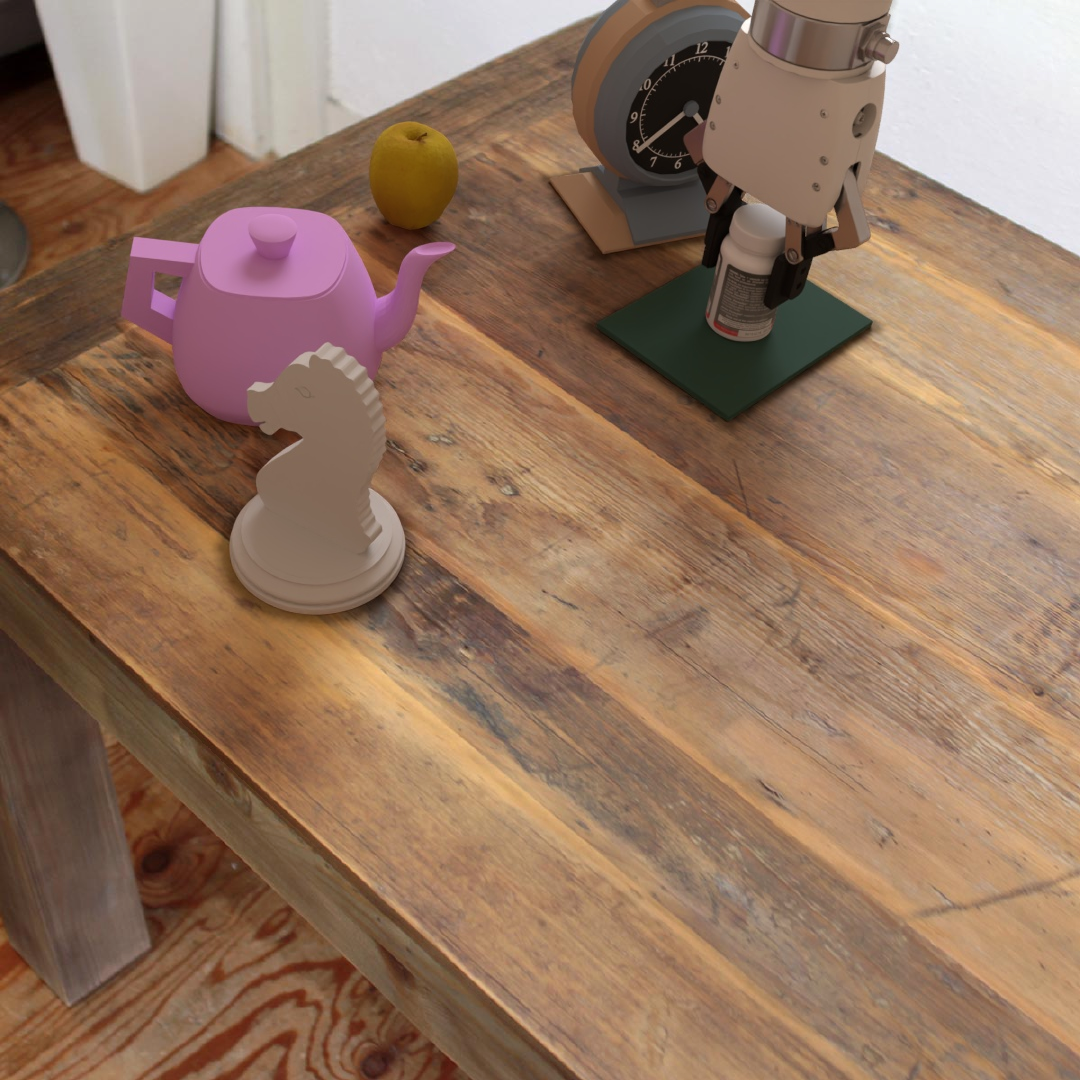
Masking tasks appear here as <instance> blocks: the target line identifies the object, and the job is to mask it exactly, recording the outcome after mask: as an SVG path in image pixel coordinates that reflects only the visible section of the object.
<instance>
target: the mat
mask: <svg viewBox="0 0 1080 1080" xmlns="http://www.w3.org/2000/svg"><path fill="white" fill-rule="evenodd" d="M715 270H716V266H715V267H713V268H706V267H705V266H703V265H702V264H701V263H700V264H698V265H697V266H695V267H693V268H691V269H690V270H688V271H687V272H684V273H683V274H681V275H679V276H677V277H676V278H674V279H672V280H670V281H668V282H667V283H665V284H663V285H661V286H660V287H658V288H655V289H654V290H652V291H650V292H649V293H647V294H645V295H644V296H642V297H640V298H638V299H636V300H635V301H632V302H631V303H629V304H627V305H626V306H624V307H622V308H620V309H619V310H617V311H614V312H613V313H611V314H610V315H608V316H606V317H604V318H602V319H600V320H599V321H597V322H596V326H595V328H596V329H597V330H599V331H600V332H601V333H603V334H604V335H606V336H607V337H608V338H610V340H612V341H614V342H616V343H617V344H618V345H619V346H621V347H622V348H624V349H625V350H627V351H628V352H629V353H631V354H632V355H633V356H634V357H636V358H638V359H639V360H641V361H642V362H644V363H645V364H646V365H647V366H649V367H651V369H653V370H654V371H656V372H657V373H658V374H660V375H662V376H663V377H664V378H665V379H667V380H668V381H670V382H671V383H673V384H674V385H675V386H677V387H678V388H679V389H681V390H683V391H684V392H685V393H687V394H688V395H689V396H691V397H692V398H693V399H695V400H697V401H698V402H699V403H700V404H702V405H703V406H705V407H707V409H709V410H711V411H712V412H713V413H715V414H716V415H717V416H718V417H720V418H721V419H723V420H724V421H726V422H730V421H731V420H733V419H734V418H736V417H738V415H740V414H742V413H743V412H744V411H746V410H748V409H749V408H751V407H752V406H754V405H755V404H756V403H758V402H760V401H761V400H762V399H764V398H766V397H767V396H769V395H770V394H772V393H774V392H775V391H777V390H778V389H779V388H781V387H783V386H784V385H785V384H787V383H789V381H791V380H793V379H794V378H795V377H797V376H799V375H801V374H802V373H804V372H805V371H807V369H809V368H811V367H813V366H814V365H815V364H817V363H818V362H820V361H821V360H823V359H824V358H826V357H827V356H828V355H830V354H832V353H833V352H835V351H837V350H838V349H840V348H841V347H842V346H844V345H845V344H847V343H849V342H850V341H851V340H853V339H854V338H855V337H857V336H859V335H861V334H862V333H864V332H865V331H866V330H868V329H870V328H871V327H872V325H873V322H874V320H872V319H870V318H869V317H867V316H866V315H864V314H863V313H861V312H859V311H857V310H856V309H854V307H851V305H848V304H847V303H845V302H844V301H842V300H840V298H838V297H836V296H834V295H832V294H831V293H829V292H828V291H827V290H825V289H823V288H822V287H820V286H819V285H816V284H815V283H813V282H812V281H811V280H809V279H807V280H806V283H805V287H804V289H803V291H802V292H801V294H800V295H799V296H797V297H796V298H794V299H793V300H790V299H789V300H787V301H786V302H784V303H782V304H781V305H779V306H778V309H777V312H776V316H775V320H774V323H773V327H772V329H771V331H770V332H769V334H768V335H767V336H765V337H764V338H762V339H759V340H756V341H746V342H743V341H734V340H730V339H727V338H725V337H723V336H721V335H719V334H718V333H716V332H715V331H714V330H713V329H712V328H711V327H710V325H709V324H708V322H707V319H706V309H707V304H708V300H709V296H710V292H711V288H712V283H713V279H714V274H715Z"/></svg>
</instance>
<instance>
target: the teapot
mask: <svg viewBox="0 0 1080 1080" xmlns="http://www.w3.org/2000/svg"><path fill="white" fill-rule="evenodd" d="M456 246H457V245H456V244H454V243H453V242H450V241H436V242H430V243H425V244H422V245H418V246H416V247H414V248H412V249H411V250H410V251H409V252H408V253H407V254H406V255H405V257H404V258H403V260H402V261H401V263H400V267H399V272H398V274H397V281H396V284H395V287H394V289H393V290H392V291H390V292H389V293H388V294H385V295H383V296H380V297H377V293H376V291H375V288H374V285H373V282H372V279H371V277H370V275H369V272H368V270H367V268H366V265H365V263H364V261H363V259H362V258H361V256H360V254H359V253H358V251H357V249H356V247H355V246H354V243H353V242H352V240H351V239H350V237H349V235H348V234H347V232H346V230H345V228H343V226H342V225H341V224H340V223H339V222H338V221H337V220H336V219H335V218H333V217H332V216H330V215H328V214H326V213H322V212H319V211H315V210H309V209H302V208H294V207H293V208H291V207H280V206H245V207H237V208H233V209H230V210H228V211H225V212H224V213H222V214H220V215H219V216H218V217H217V218H215V219H214V221H212V222H211V223H210V225H209V226H208V228H207V229H206V231H205V232H204V235H202V238H201V240H200V242H199V243H193V242H183V241H175V240H166V239H157V238H149V237H139V236H133V240H132V245H131V249H130V255H129V262H128V269H127V273H126V280H125V287H124V293H123V299H122V306H121V310H120V317H121V318H123V319H125V320H126V321H129V322H130V323H132V324H133V325H136V326H137V327H139V328H141V329H142V330H144V331H145V332H148V333H149V334H152V335H153V336H155V337H157V338H158V339H160V340H162V341H164V342H166V343H167V344H169V345H171V346H172V348H171V349H172V358H173V364H174V369H175V372H176V375H177V378H178V380H179V382H180V384H181V387H182V388H183V390H184V392H185V394H187V396H188V397H189V398H190V399H191V400H192V402H194V403H195V404H196V405H197V406H198V407H199V408H201V409H202V410H204V412H206V413H208V414H209V415H211V416H212V417H214V418H216V419H219V420H222V421H224V422H227V423H231V424H237V425H244V426H252V427H259V425H260V424H261V423H263V422H254V421H253V420H252V419H251V417H250V415H249V413H248V409H247V398H248V395H247V389H249V388H250V387H251V386H252V385H253V384H254V383H255V382H262V383H272V382H275V380H276V379H277V378H278V376H279V375H280V374H281V372H282V371H283V370H284V369H285V368H286V367H287V366H289V365H290V364H291V363H292V362H293V361H294V360H295V359H296V358H298V357H299V356H300V355H301V354H303V353H305V352H316V351H317V350H318V349H319V348H320V347H321V346H322V345H324V344H325V343H327V342H329V343H330V344H332V345H333V346H335V347H342V348H343V349H344V350H345V352H346V354H347V355H349V356H352V357H354V358H355V359H356V360H357V362H358V363H359V364H360V365H361V366H363V367H365V368H366V369H367V375H368V378H370V379H371V380H372V381H373V382H374V380H375V379H376V376H377V374H378V371H379V368H380V365H381V362H382V359H383V353H384V352H386V351H388V350H390V349H392V348H394V347H395V346H397V345H398V344H399V343H400V342H401V341H403V340H404V339H405V337H406V336H407V335H408V334H409V332H410V330H411V329H412V327H413V325H414V322H415V319H416V316H417V313H418V307H419V302H420V295H421V289H422V284H423V280H424V278H425V275H426V273H427V272H428V269H429V268H430V267H431V266H432V265H433V264H434V263H435V262H436V261H438V260H440V259H441V258H443V257H445V256H447V255H448V254H450V253H451V252H453V251H454V250H455V249H456ZM156 273H159V274H163V275H169V276H174V277H179V278H182V280H181V284H180V286H179V290H178V292H177V296H176V300H175V299H174V298H172V297H170V296H168V295H166V294H164V293H163V292H161V291H159V290H158V289H156V288H155V278H156V276H155V275H156Z"/></svg>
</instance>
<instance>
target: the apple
mask: <svg viewBox="0 0 1080 1080" xmlns="http://www.w3.org/2000/svg"><path fill="white" fill-rule="evenodd" d="M368 177H369V178H368V179H369V187H370V192H371V195H372V198H373V201H374V204H375V205H376V207H377V209H378V210H379V213H380V214H381V216H382V217H383V218H384V220H386V222H388V223H389V224H391V225H393V226H395V227H398V228H401V229H405V230H407V231H411V230H413V231H415V230H418V229H422V228H426V227H428V226H429V225H431V224H433V223H435V222H437V221H438V220H439V219H440V217H441V216H442V214H443V213H444V211H445V210H446V208H447V207H448V205H450V203H451V201H452V200H453V197H454V195H455V193H456V191H457V188H458V183H459V161H458V158H457V153H456V150H455V148H454V146H453V144H452V143H451V142H450V141H449V139H448V138H447V137H446V136H445V135H444V134H443V133H442V132H440V131H438V130H436V129H434V128H432V127H431V126H429V125H426V124H424V123H420V122H417V121H410V120H409V121H403V122H398V123H394V124H393V125H390V126H389V127H388V128H386V129H384V130H383V131H382V133H380V134H379V136H378V137H377V139H376V141H375V142H374V145H373V147H372V151H371V154H370V158H369V167H368Z"/></svg>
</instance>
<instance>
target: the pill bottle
mask: <svg viewBox="0 0 1080 1080" xmlns="http://www.w3.org/2000/svg"><path fill="white" fill-rule="evenodd" d="M785 227H786V216H785V215H783V214H781V213H780V212H778V211H776V210H775V209H773V208H771V207H770V206H768V205H766V204H765V203H757V202H756V203H748V204H747V205H744V206H741V207H740V208H738V209H737V210H736V211H735V213H734V215H733V219H732V222H731V225H730V229H729V231H730V233H728V234H727V235H726V236H725V238H724V240H723V242H722V245H721V248H720V253H719V257H718V261H717V266H716V270H715V274H714V279H713V283H712V288H711V292H710V296H709V300H708V304H707V309H706V319H707V322H708V324H709V325H710V327H711V328H712V329H713V330H714V331H715V332H716V333H718V334H719V335H721V336H723V337H725V338H727V339H730V340H734V341H743V342H746V341H756V340H759V339H762V338H764V337H765V336H767V335H768V334H769V332H770V331H771V329H772V327H773V323H774V320H775V316H776V312H777V309H778V306H777V307H776V308H774V309H773V310H770V309H769V308H767V307H766V306H765V305H764V304H765V303H764V302H763V301H764V297H765V293H766V290H767V286H768V282H769V279H770V275H771V272H772V268H773V264H774V261H775V259H776V257H777V256H779V255H781V254H782V253H784V252H785Z"/></svg>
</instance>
